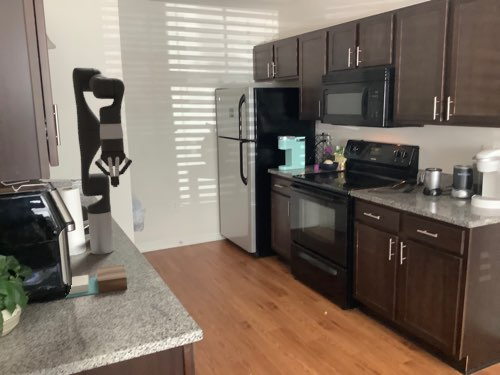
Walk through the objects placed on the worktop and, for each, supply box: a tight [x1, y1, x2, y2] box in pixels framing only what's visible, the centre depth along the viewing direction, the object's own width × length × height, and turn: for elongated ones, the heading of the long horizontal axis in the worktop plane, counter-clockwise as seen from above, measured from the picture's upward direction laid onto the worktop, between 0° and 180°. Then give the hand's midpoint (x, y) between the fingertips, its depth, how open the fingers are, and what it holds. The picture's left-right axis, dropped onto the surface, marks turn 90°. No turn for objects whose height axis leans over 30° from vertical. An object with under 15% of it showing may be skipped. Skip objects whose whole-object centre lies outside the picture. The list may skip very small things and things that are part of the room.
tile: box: [69, 274, 89, 294], centre depth 144 cm, size 9×6×2 cm, turn 20°
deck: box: [96, 264, 128, 294], centre depth 148 cm, size 13×9×4 cm
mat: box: [64, 276, 100, 299], centre depth 145 cm, size 14×10×1 cm
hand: (115, 186), depth 153 cm, fingers closed
